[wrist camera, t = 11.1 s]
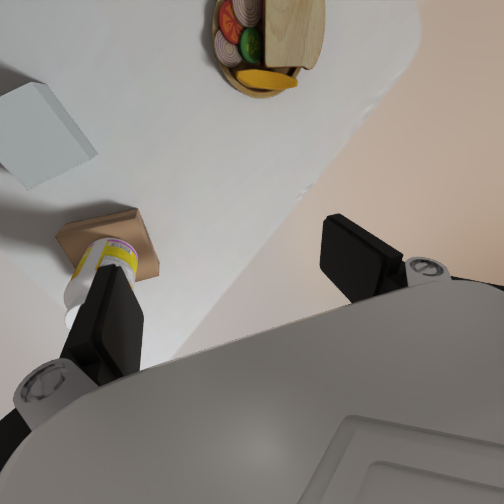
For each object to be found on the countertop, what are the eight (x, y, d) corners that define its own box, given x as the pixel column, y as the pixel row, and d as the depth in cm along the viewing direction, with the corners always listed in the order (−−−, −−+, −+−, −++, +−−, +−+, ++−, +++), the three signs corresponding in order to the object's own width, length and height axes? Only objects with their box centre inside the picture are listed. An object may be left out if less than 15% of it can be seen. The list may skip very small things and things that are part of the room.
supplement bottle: (97, 280, 36) (69, 351, 26) (77, 241, 33) (35, 305, 22) (144, 269, 38) (136, 333, 27) (130, 231, 34) (115, 287, 24)
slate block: (-20, 116, 27) (-45, 117, 24) (47, 84, 27) (30, 81, 24) (41, 181, 32) (27, 190, 28) (98, 153, 32) (90, 159, 29)
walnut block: (65, 223, 35) (54, 236, 32) (137, 208, 37) (135, 218, 33) (97, 278, 40) (91, 293, 37) (159, 262, 42) (158, 275, 39)
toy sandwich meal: (211, -46, 26) (219, -72, 23) (320, -13, 30) (342, -30, 27) (209, 92, 32) (215, 90, 29) (300, 104, 37) (317, 104, 33)
